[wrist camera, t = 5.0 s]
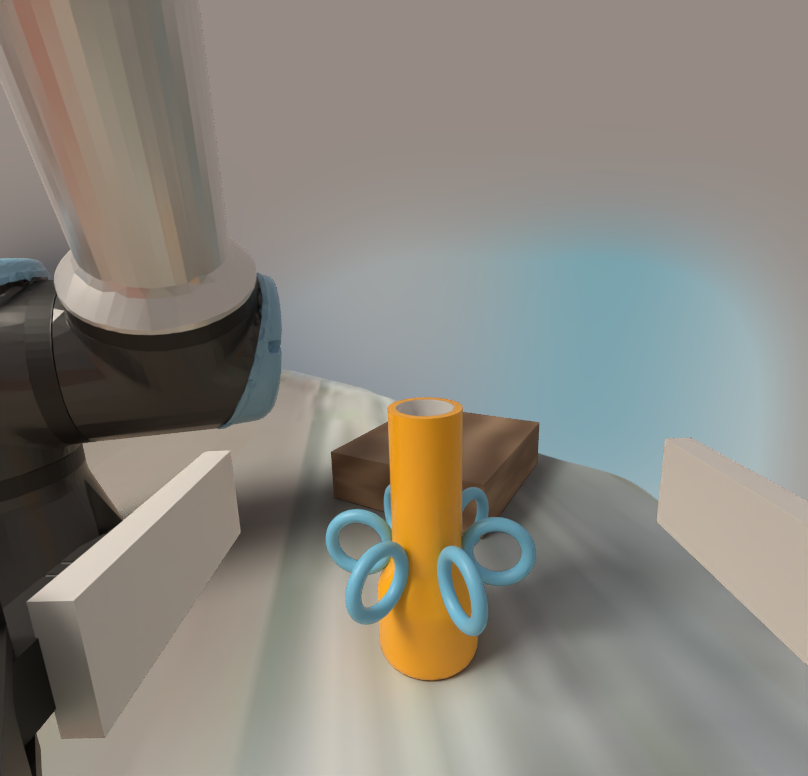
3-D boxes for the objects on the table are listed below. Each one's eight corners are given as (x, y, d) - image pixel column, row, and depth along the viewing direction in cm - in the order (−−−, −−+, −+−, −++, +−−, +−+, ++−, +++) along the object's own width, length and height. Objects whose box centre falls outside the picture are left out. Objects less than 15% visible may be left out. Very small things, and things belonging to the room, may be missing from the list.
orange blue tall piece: (301, 707, 24) (274, 438, 20) (354, 578, 34) (342, 383, 30) (543, 739, 22) (561, 447, 18) (522, 592, 32) (531, 385, 28)
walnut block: (334, 497, 46) (330, 451, 45) (418, 441, 61) (417, 405, 60) (482, 539, 38) (483, 484, 37) (537, 462, 53) (539, 422, 52)
